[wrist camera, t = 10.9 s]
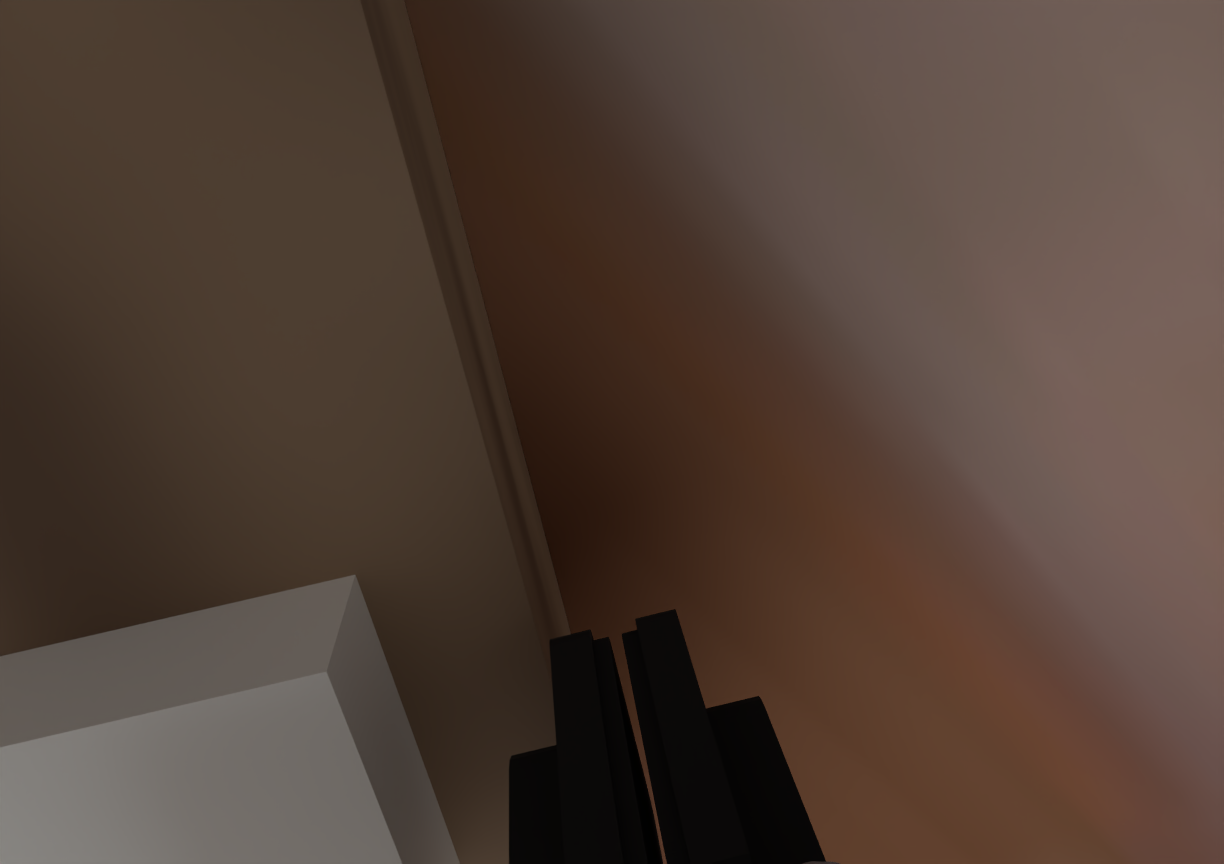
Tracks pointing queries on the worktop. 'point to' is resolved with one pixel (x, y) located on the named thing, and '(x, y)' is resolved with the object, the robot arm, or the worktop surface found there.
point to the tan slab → (262, 359)
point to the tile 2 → (217, 742)
